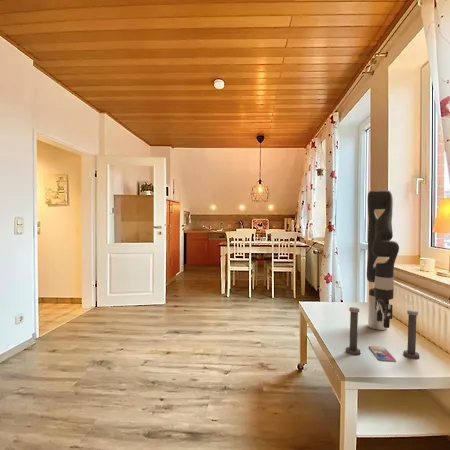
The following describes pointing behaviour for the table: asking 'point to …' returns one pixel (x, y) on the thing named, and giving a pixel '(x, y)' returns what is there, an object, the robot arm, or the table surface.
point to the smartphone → (382, 354)
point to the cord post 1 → (353, 332)
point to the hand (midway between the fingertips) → (382, 324)
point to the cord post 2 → (411, 335)
